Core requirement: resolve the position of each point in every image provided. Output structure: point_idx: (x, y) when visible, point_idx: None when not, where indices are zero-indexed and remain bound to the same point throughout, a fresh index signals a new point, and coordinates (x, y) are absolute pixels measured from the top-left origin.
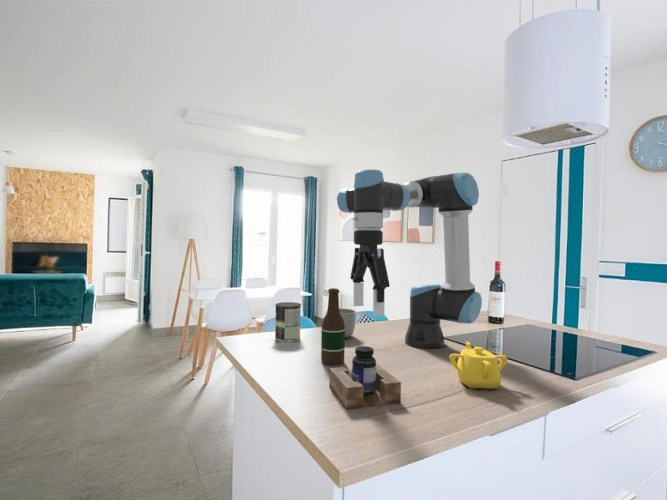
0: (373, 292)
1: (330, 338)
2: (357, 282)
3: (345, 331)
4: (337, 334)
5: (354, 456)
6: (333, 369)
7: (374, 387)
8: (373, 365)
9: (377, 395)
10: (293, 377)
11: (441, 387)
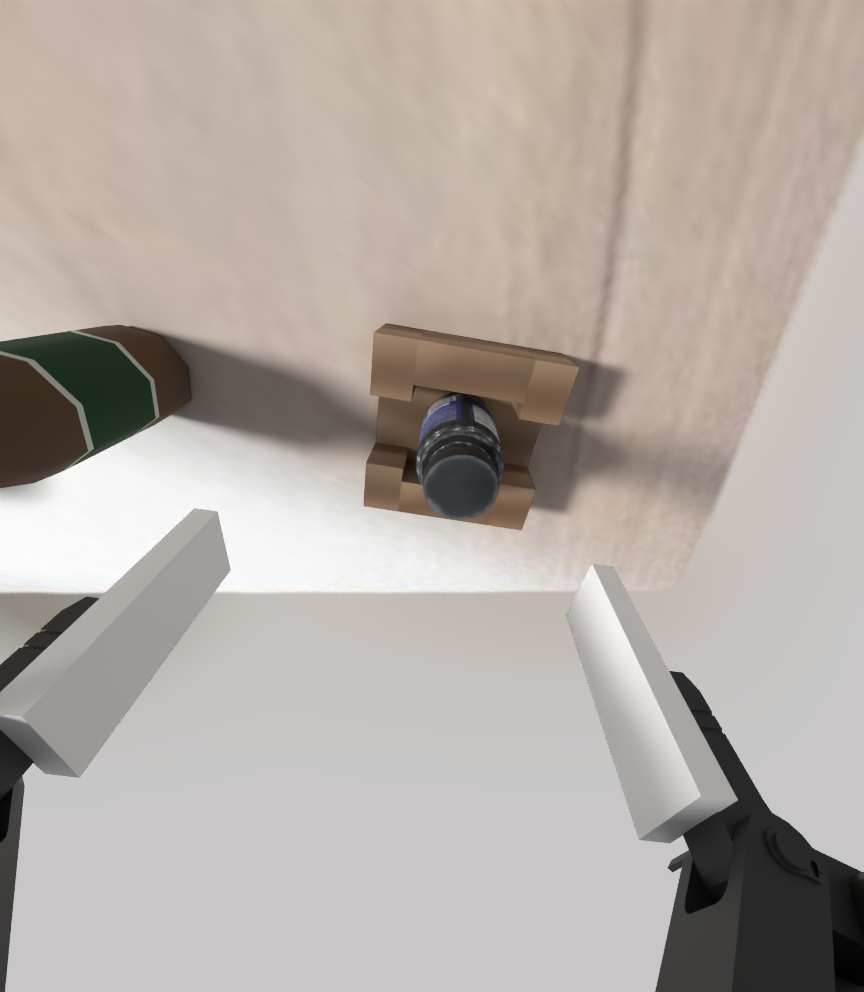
0: (631, 795)
1: (117, 437)
2: (21, 754)
3: None
4: (94, 412)
5: (667, 562)
6: (376, 500)
7: (489, 411)
8: (502, 450)
9: (503, 404)
10: (284, 527)
11: (551, 51)
